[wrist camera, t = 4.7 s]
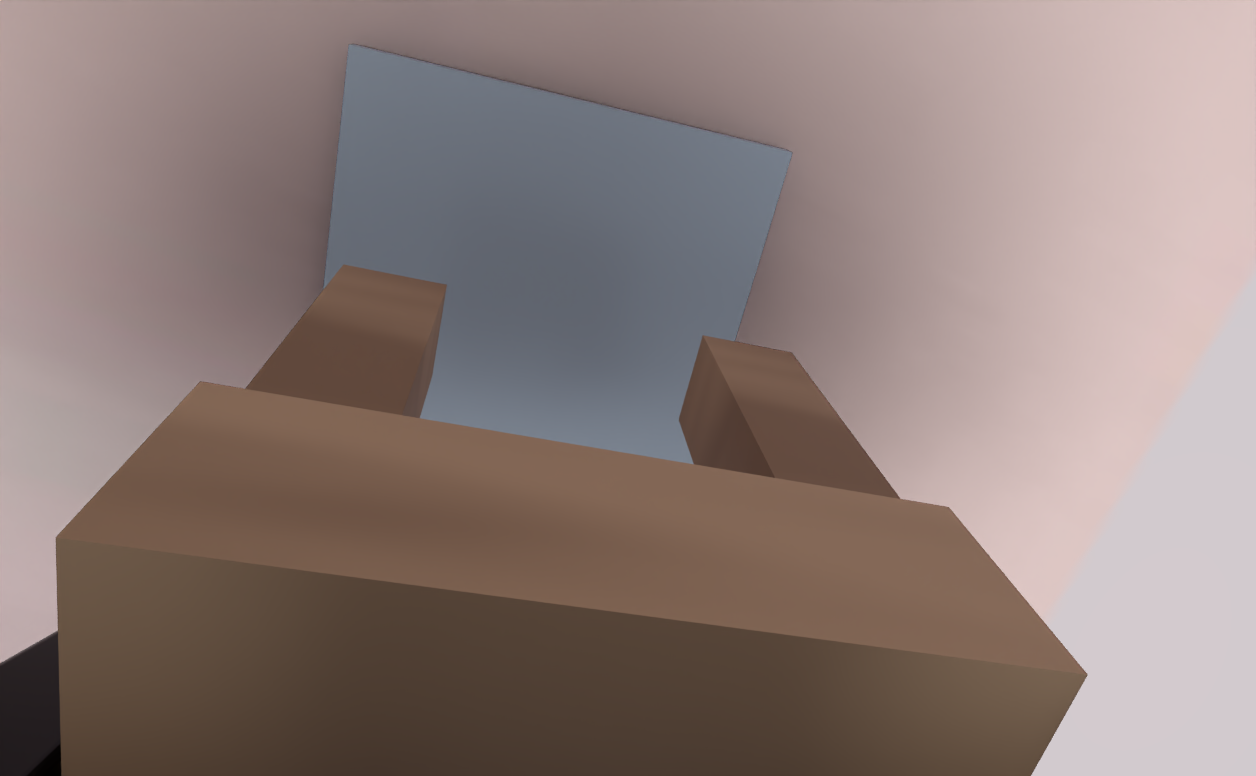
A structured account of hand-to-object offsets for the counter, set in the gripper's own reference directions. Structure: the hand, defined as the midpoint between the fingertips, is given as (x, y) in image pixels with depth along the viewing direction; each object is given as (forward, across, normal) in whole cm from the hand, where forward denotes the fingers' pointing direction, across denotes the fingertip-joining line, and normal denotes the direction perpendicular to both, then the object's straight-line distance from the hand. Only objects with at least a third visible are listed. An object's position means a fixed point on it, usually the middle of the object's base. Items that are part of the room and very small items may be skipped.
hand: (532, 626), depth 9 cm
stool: (+2, 0, 0) cm, 2 cm away
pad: (+11, 0, 0) cm, 11 cm away
